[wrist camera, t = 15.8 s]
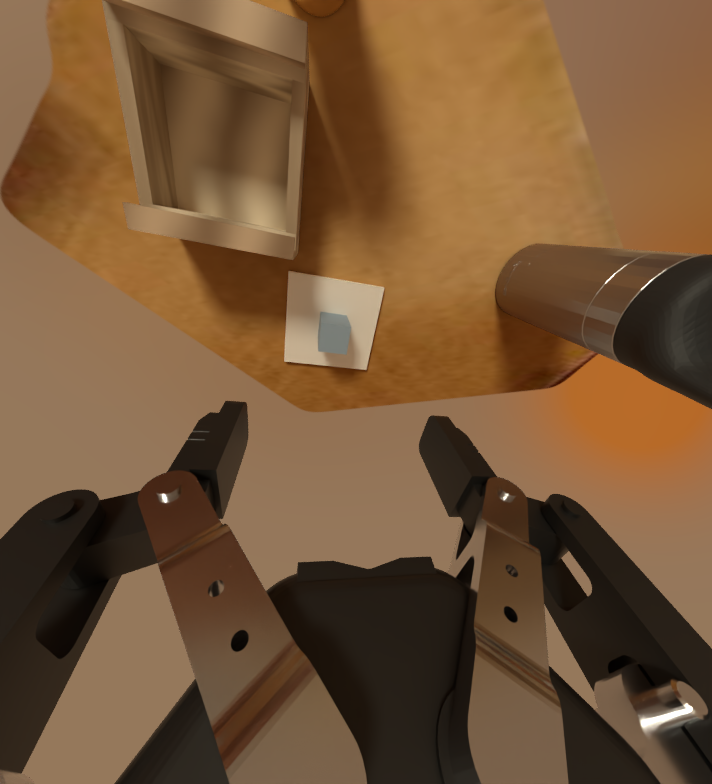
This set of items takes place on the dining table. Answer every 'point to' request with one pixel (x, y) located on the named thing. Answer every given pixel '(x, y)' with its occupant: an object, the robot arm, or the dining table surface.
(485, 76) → the dining table surface
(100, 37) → the dining table surface
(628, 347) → the robot arm
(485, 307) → the dining table surface
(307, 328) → the cover plate
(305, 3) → the beer glass
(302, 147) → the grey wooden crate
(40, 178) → the dining table surface
